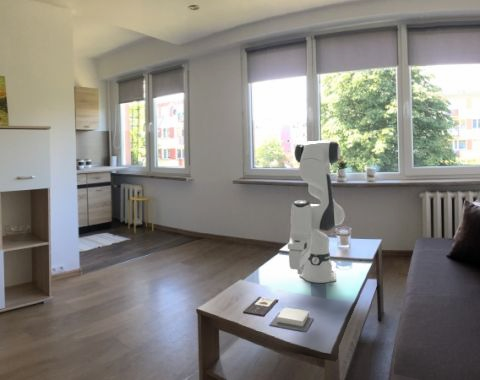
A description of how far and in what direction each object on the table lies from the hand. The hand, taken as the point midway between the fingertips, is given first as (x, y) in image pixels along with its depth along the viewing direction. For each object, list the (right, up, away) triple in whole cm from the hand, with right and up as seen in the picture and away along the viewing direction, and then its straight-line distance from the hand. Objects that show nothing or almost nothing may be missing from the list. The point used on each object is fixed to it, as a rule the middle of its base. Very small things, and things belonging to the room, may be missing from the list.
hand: (300, 273), depth 157 cm
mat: (-5, -17, -10) cm, 20 cm away
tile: (-2, -15, -4) cm, 15 cm away
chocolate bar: (-16, -16, +5) cm, 23 cm away
